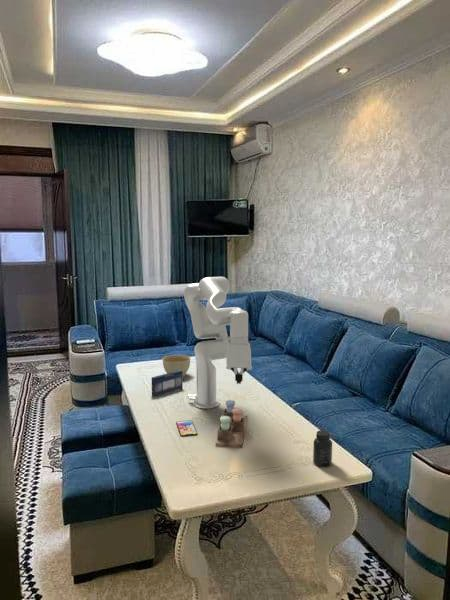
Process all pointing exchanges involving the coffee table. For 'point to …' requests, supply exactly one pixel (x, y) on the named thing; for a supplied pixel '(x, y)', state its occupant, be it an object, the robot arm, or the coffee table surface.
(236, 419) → the button terracotta
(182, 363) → the planter bowl
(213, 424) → the coffee table surface
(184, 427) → the smartphone
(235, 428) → the button board
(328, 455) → the supplement bottle
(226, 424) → the button sage
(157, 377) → the vhs cassette tape
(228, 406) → the button slate
